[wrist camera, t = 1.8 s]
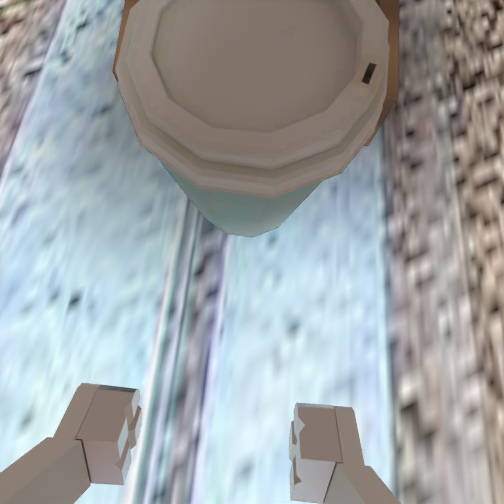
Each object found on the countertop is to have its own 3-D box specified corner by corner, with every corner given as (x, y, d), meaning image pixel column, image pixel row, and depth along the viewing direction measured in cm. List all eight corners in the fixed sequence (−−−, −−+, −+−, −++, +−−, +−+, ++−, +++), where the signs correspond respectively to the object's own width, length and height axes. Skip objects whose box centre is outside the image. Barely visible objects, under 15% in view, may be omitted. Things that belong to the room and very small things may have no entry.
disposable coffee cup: (143, 228, 29) (40, 102, 14) (209, 96, 31) (180, -131, 16) (290, 290, 28) (345, 225, 13) (346, 150, 30) (445, -36, 15)
